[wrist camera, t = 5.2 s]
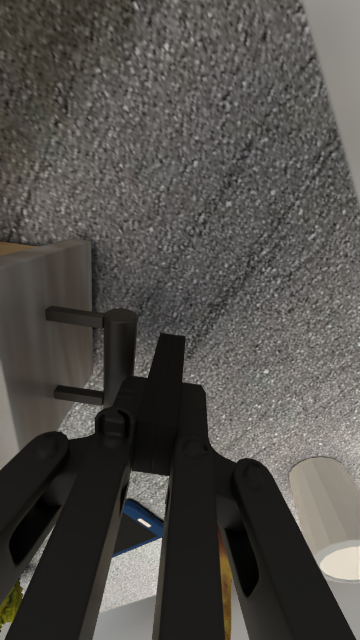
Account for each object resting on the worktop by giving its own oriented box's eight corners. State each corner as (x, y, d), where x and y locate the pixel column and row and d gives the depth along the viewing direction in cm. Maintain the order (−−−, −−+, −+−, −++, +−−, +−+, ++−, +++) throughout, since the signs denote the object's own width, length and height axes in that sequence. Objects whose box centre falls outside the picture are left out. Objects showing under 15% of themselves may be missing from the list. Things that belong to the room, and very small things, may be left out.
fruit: (178, 518, 30) (168, 696, 19) (215, 501, 28) (227, 687, 17) (207, 538, 31) (213, 714, 20) (243, 524, 30) (272, 708, 19)
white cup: (308, 503, 27) (343, 593, 21) (268, 474, 26) (293, 561, 19) (366, 476, 25) (424, 568, 18) (326, 442, 23) (375, 530, 17)
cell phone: (171, 527, 30) (170, 534, 30) (98, 557, 35) (96, 564, 34) (129, 497, 28) (128, 504, 28) (58, 533, 33) (55, 540, 32)
